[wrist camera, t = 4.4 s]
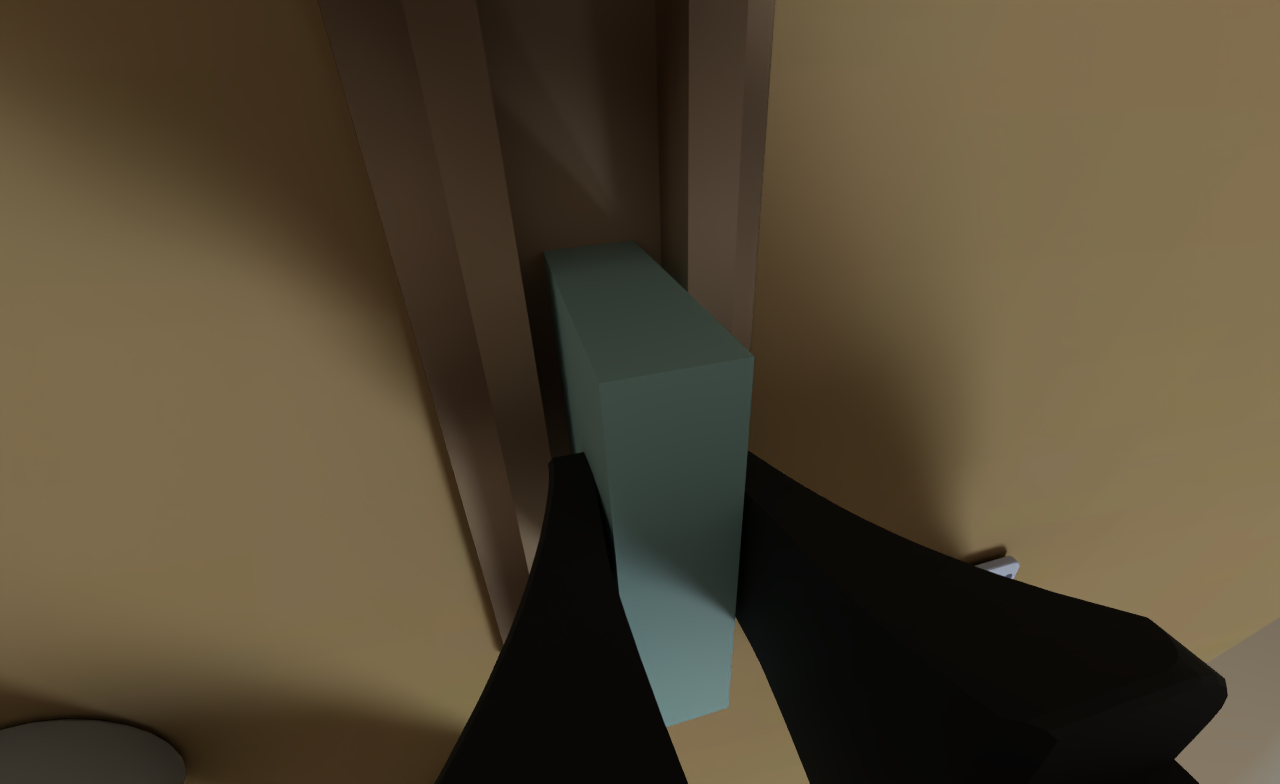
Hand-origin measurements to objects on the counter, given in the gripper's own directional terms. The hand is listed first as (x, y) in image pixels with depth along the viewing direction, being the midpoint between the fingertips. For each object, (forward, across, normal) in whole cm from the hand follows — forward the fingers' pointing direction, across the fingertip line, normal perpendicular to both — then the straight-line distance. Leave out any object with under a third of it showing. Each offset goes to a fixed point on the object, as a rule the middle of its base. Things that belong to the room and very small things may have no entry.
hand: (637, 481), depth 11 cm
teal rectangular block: (+3, 0, 0) cm, 3 cm away
